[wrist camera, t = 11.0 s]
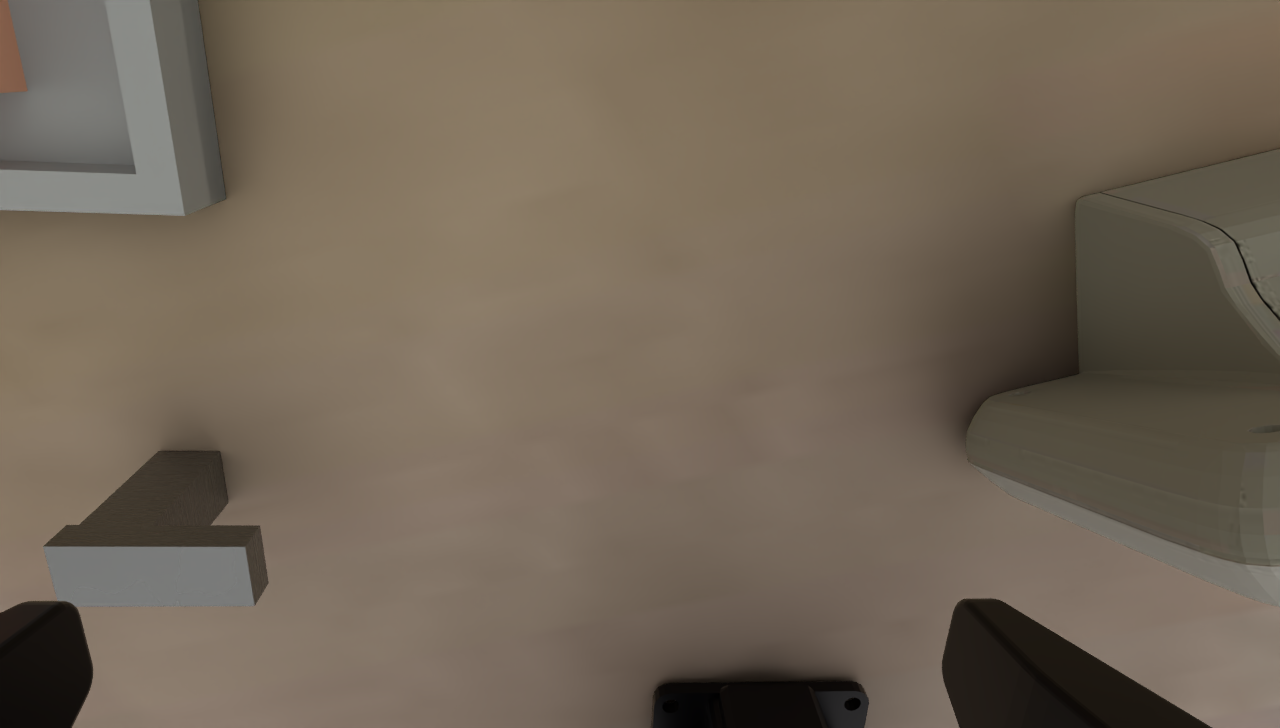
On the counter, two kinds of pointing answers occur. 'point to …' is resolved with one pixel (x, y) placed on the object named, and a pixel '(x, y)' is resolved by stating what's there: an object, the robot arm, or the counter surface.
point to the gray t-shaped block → (160, 542)
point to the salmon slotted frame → (9, 54)
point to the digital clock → (1164, 380)
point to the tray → (110, 110)
